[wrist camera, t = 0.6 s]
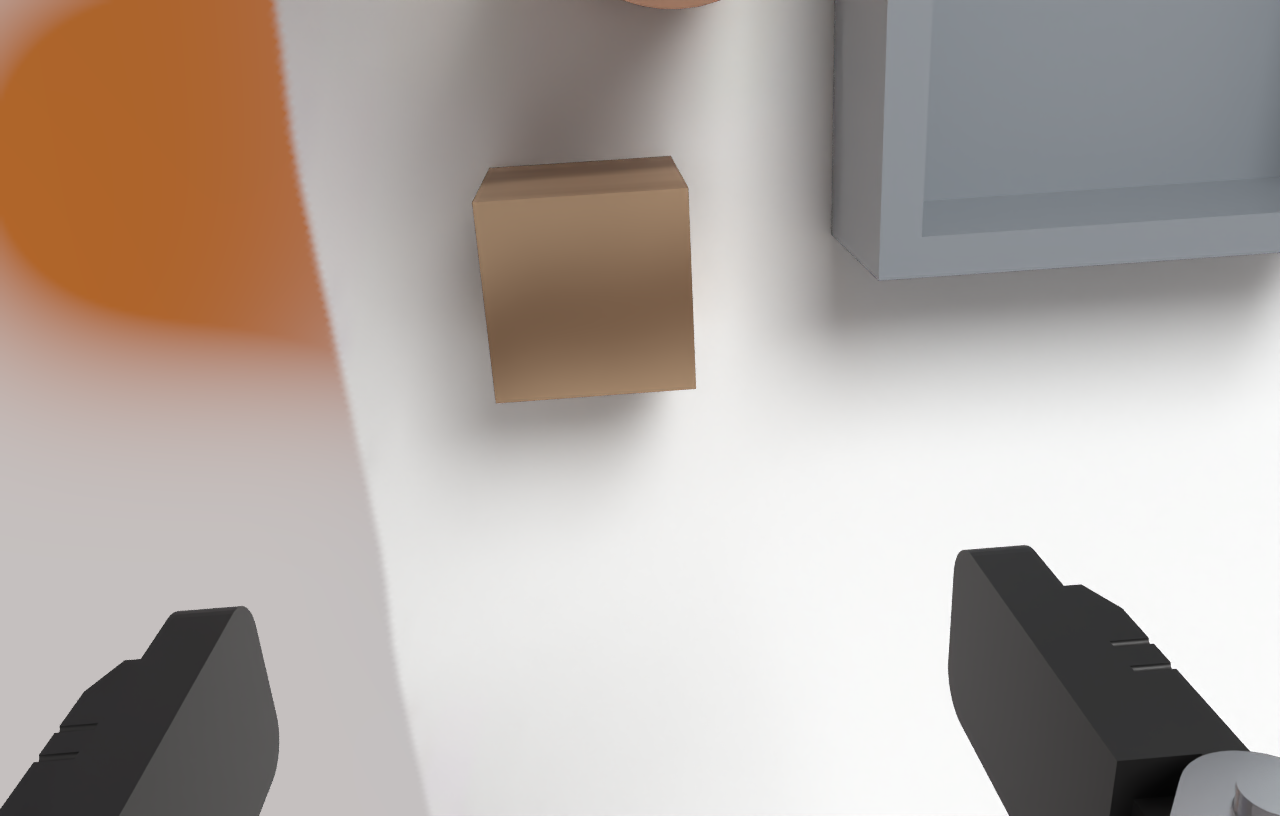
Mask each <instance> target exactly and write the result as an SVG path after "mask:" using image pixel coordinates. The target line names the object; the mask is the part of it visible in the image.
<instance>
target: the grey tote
mask: <svg viewBox="0 0 1280 816" xmlns="http://www.w3.org/2000/svg"><path fill="white" fill-rule="evenodd" d="M832 236H833V237H834V238H835V239H836V240H837V241H838V242H840V243H841V244H842V245H843V246H844V247H845V248H846V249H847V250H848V251H849V252H850V253H851V254H852V255H853V256H854V257H855V258H856V259H857V260H858V261H859V262H860V263H861V264H862V265H863V266H864V267H865V268H866V269H867V270H868V271H869V272H870V273H871V274H872V275H873V276H874V277H875V278H876V279H877V280H878V281H882V280H896V279H911V278H925V277H939V276H953V275H967V274H982V273H996V272H1010V271H1024V270H1039V269H1053V268H1067V267H1081V266H1096V265H1110V264H1124V263H1138V262H1153V261H1167V260H1181V259H1195V258H1210V257H1224V256H1238V255H1252V254H1267V253H1280V0H835V30H834V100H833V170H832Z"/></svg>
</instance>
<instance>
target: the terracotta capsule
mask: <svg viewBox="0 0 1280 816" xmlns="http://www.w3.org/2000/svg"><path fill="white" fill-rule="evenodd" d="M623 1H626V2H630V3H633V4H637V5H640V6H645V7H652V8H658V9H684V8H691V7H699V6H702V5H706V4H709V3H713V2H717V1H719V0H623Z"/></svg>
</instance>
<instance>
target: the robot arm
mask: <svg viewBox="0 0 1280 816" xmlns="http://www.w3.org/2000/svg"><path fill="white" fill-rule="evenodd" d="M1170 663H1171V662H1170V661H1169V660H1168V659H1167V658H1166V657H1165V656H1164V655H1163V654H1162V652H1161V651H1160V650H1159V649H1158V648H1157V647H1156V646H1155V645H1154V644H1150V643H1149V638H1148V637H1147V636H1146V635H1145V633H1144V632H1143V631H1142V630H1141V629H1140V628H1139V627H1138V626H1137V624H1136V623H1135V622H1134V621H1133V620H1132V619H1131V618H1130V617H1129V615H1128V614H1127V613H1126V612H1125V611H1124V610H1123V609H1122V608H1121V607H1119V606H1117V605H1115V604H1114V603H1112V602H1110V601H1109V600H1107V599H1105V598H1103V597H1102V596H1100V595H1098V594H1097V593H1095V592H1093V591H1091V590H1090V589H1088V588H1086V587H1085V586H1083V585H1069V586H1063V585H1062V583H1061V582H1060V581H1059V580H1058V578H1057V577H1056V576H1055V575H1054V574H1053V572H1052V571H1051V570H1050V569H1049V568H1048V566H1047V565H1046V564H1045V563H1044V562H1043V560H1042V559H1041V558H1040V557H1039V556H1038V554H1037V553H1036V552H1035V551H1034V550H1033V549H1032V548H1031V547H1029V546H1027V545H1020V546H1008V547H996V548H983V549H971V550H962V551H960V552H959V554H958V556H957V558H956V561H955V566H954V578H953V594H952V610H951V627H950V643H949V659H948V675H949V685H950V691H951V696H952V701H953V705H954V708H955V711H956V714H957V717H958V719H959V721H960V723H961V725H962V727H963V729H964V731H965V733H966V735H967V737H968V739H969V740H970V742H971V744H972V746H973V748H974V750H975V752H976V754H977V756H978V758H979V759H980V761H981V763H982V765H983V767H984V769H985V771H986V773H987V775H988V776H989V778H990V780H991V782H992V784H993V786H994V788H995V790H996V792H997V794H998V795H999V797H1000V799H1001V801H1002V803H1003V805H1004V807H1005V809H1006V811H1007V812H1008V814H1009V816H1280V757H1276V756H1272V755H1268V754H1263V753H1257V752H1250V751H1249V750H1248V749H1247V748H1246V746H1245V745H1244V744H1243V743H1242V742H1241V741H1240V740H1239V739H1238V737H1237V736H1236V735H1235V734H1234V733H1233V732H1232V731H1231V730H1230V728H1229V727H1228V726H1227V725H1226V724H1225V723H1224V722H1223V721H1222V720H1221V718H1220V717H1219V716H1218V715H1217V714H1216V713H1215V712H1214V711H1213V709H1212V708H1211V707H1210V706H1209V705H1208V704H1207V703H1206V702H1205V701H1204V699H1203V698H1202V697H1201V696H1200V695H1199V694H1198V693H1197V692H1196V690H1195V689H1194V688H1193V687H1192V686H1191V685H1190V684H1189V683H1188V682H1187V680H1186V679H1185V678H1184V677H1183V676H1182V675H1181V674H1180V673H1179V671H1178V670H1177V669H1172V668H1171V664H1170ZM278 753H279V728H278V720H277V716H276V711H275V707H274V702H273V698H272V694H271V689H270V685H269V681H268V676H267V672H266V668H265V664H264V660H263V655H262V650H261V646H260V642H259V637H258V633H257V629H256V625H255V621H254V619H253V616H252V614H251V613H250V611H249V610H248V609H247V608H246V607H244V606H238V607H227V608H213V609H200V610H188V611H177V612H174V613H173V614H172V615H170V617H169V618H168V619H167V621H166V622H165V624H164V625H163V627H162V628H161V630H160V631H159V633H158V634H157V636H156V637H155V639H154V640H153V642H152V643H151V645H150V646H149V648H148V649H147V651H146V652H145V654H144V655H143V657H142V658H141V659H137V660H125V661H123V662H122V663H121V664H120V665H118V666H117V667H116V668H114V669H113V670H112V671H110V672H109V673H108V674H107V675H105V676H104V677H103V678H101V679H100V680H99V681H98V682H96V683H95V684H94V685H92V686H91V687H90V688H88V689H87V690H86V691H84V693H83V694H82V696H81V697H80V698H79V700H78V701H77V703H76V704H75V705H74V707H73V708H72V710H71V711H70V712H69V714H68V715H67V717H66V718H65V719H64V721H63V722H62V724H61V725H60V732H59V733H54V735H53V736H52V738H51V739H50V740H49V742H48V743H47V745H46V746H45V747H44V749H43V750H42V751H41V753H40V754H39V762H34V763H33V764H32V765H31V767H30V768H29V770H28V771H27V773H26V774H25V775H24V777H23V778H22V780H21V781H20V782H19V784H18V785H17V787H16V788H15V789H14V791H13V792H12V794H11V795H10V796H9V798H8V799H7V801H6V802H5V803H4V805H3V806H2V808H1V809H0V816H259V814H260V812H261V809H262V807H263V804H264V801H265V798H266V796H267V793H268V791H269V789H270V786H271V784H272V781H273V778H274V775H275V771H276V767H277V761H278Z"/></svg>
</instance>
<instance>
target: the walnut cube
mask: <svg viewBox="0 0 1280 816" xmlns="http://www.w3.org/2000/svg"><path fill="white" fill-rule="evenodd" d="M472 205H473V214H474V222H475V231H476V239H477V248H478V256H479V264H480V273H481V281H482V290H483V298H484V307H485V315H486V324H487V332H488V341H489V349H490V358H491V366H492V375H493V383H494V391H495V400H496V403H507V402H521V401H535V400H548V399H562V398H576V397H590V396H603V395H617V394H631V393H645V392H658V391H672V390H686V389H696V377H695V350H694V324H693V298H692V272H691V246H690V220H689V194H688V187H687V185H686V183H685V181H684V179H683V177H682V176H681V174H680V172H679V170H678V168H677V167H676V165H675V163H674V161H673V159H672V157H671V156H663V157H648V158H633V159H618V160H603V161H588V162H573V163H557V164H542V165H527V166H512V167H497V168H489V170H488V172H487V174H486V176H485V178H484V180H483V182H482V184H481V186H480V188H479V190H478V192H477V194H476V196H475V198H474V200H473V202H472Z"/></svg>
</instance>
